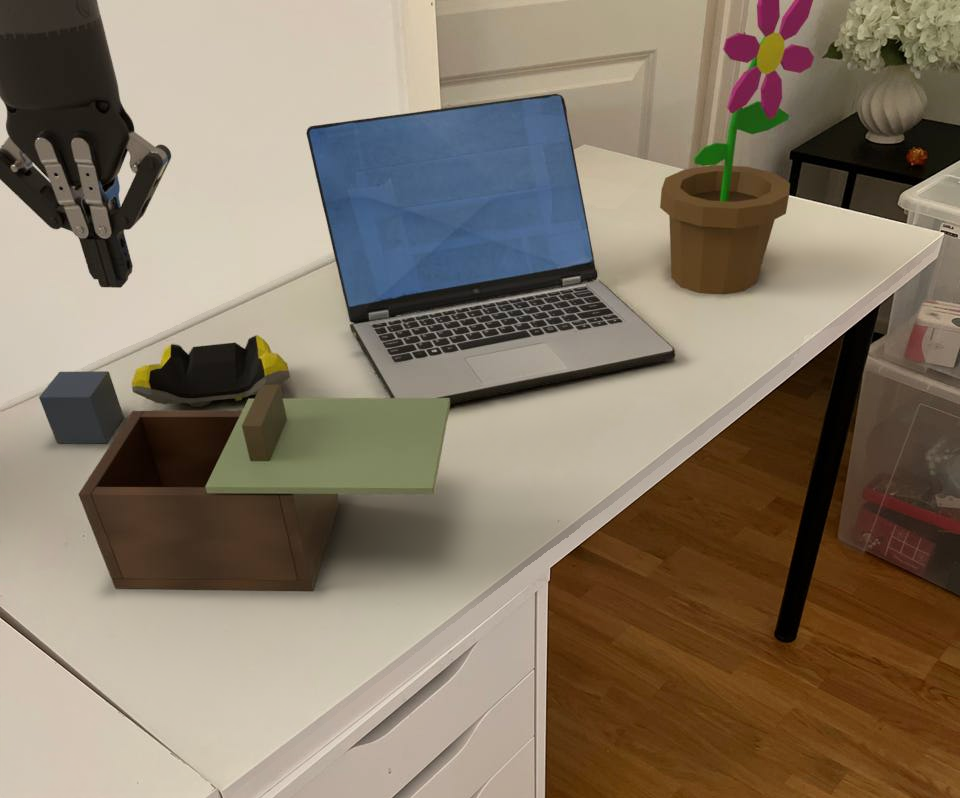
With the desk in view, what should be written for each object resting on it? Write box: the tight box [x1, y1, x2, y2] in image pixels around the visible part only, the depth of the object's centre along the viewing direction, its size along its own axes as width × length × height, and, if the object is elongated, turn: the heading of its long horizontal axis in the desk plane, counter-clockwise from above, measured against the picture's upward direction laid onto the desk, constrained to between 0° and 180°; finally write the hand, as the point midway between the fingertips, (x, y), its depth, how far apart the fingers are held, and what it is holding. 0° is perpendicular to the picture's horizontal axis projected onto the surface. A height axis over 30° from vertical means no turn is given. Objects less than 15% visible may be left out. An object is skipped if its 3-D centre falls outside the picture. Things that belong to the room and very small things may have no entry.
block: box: [38, 370, 125, 444], centre depth 93 cm, size 5×5×5 cm
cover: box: [205, 385, 451, 495], centre depth 72 cm, size 16×13×4 cm
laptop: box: [306, 93, 676, 405], centre depth 102 cm, size 30×32×18 cm
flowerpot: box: [659, 0, 815, 295], centre depth 105 cm, size 14×14×30 cm
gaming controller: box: [131, 334, 291, 408], centre depth 97 cm, size 15×6×10 cm
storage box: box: [78, 409, 340, 592], centre depth 77 cm, size 16×12×9 cm
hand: (114, 283), depth 73 cm, fingers closed
